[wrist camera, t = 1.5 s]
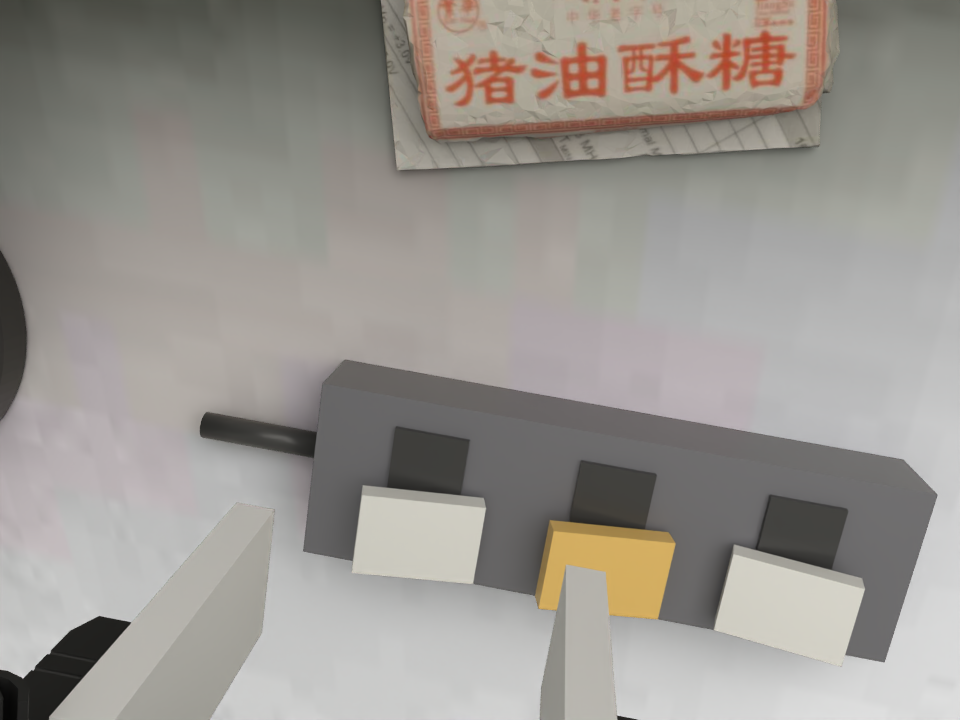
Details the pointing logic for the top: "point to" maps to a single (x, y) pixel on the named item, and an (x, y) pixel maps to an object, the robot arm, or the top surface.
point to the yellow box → (608, 565)
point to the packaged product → (603, 78)
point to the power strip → (605, 486)
